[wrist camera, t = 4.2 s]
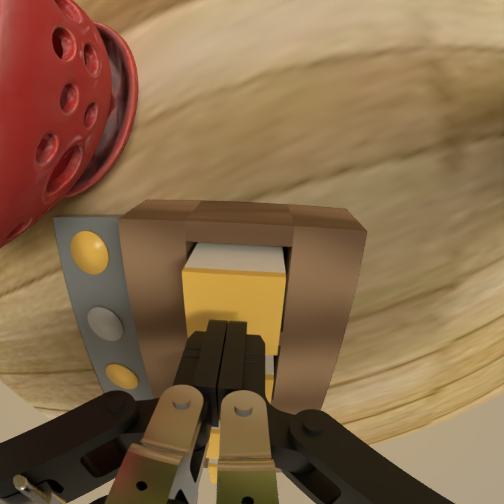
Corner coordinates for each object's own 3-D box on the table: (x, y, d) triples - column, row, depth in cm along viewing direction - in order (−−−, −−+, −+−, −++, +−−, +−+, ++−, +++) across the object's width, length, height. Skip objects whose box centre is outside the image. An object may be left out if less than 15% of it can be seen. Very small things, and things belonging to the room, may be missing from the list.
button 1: (200, 236, 15) (181, 271, 12) (281, 241, 15) (286, 277, 12) (203, 304, 17) (189, 349, 13) (275, 308, 17) (277, 355, 13)
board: (146, 199, 17) (117, 219, 13) (346, 209, 17) (366, 231, 13) (183, 434, 27) (176, 463, 23) (294, 441, 27) (296, 472, 23)
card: (57, 214, 18) (51, 218, 17) (126, 214, 18) (121, 218, 17) (119, 416, 27) (117, 421, 26) (169, 427, 27) (167, 433, 26)
